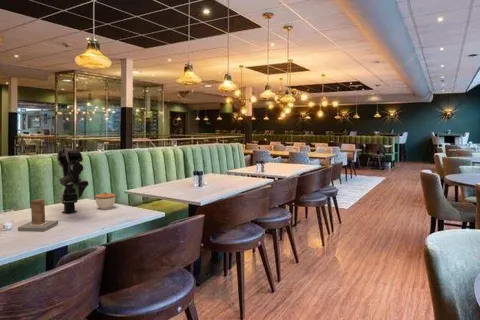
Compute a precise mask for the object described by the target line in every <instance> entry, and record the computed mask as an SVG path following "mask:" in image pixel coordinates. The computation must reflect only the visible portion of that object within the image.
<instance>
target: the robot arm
mask: <svg viewBox="0 0 480 320" xmlns="http://www.w3.org/2000/svg"><path fill="white" fill-rule="evenodd" d="M83 160H84V158H83V155H82V152H81V151H80V150H78V149H72V148H71V147H70V146H69V147H68V146H64V147H62V148H61V149H60V150H59V151H58V152H57V155H56V161H57V162H58V165H59V166H60V168H61V171H62V177H61V178H59V179H58V180H59V183H60V185H62V186H63V187H64V190H63V191H62V194H61V198H60V199H61V200H60V203H61V204H62V205H63V211H61V213H62V214H63V213H64V214H67V215H69V214H74V213H77V212H78V210H76V205H75V204H77V203H78V198H79V199H80V198H82V195H83V193H84V192H85V189H86V188H87V187H88V186H89V181H88V180H82V179H81V178H80V175H82V172H83V171H84V166H83V164H82V163H83ZM74 185H75V188H74ZM76 189H77V191H76Z"/></svg>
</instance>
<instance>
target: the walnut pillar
mask: <svg viewBox="0 0 480 320" xmlns="http://www.w3.org/2000/svg"><path fill="white" fill-rule="evenodd" d="M30 207H31V208H30V210H31V221H32V225H41V224H43V223H45V220H46V212H45V211H46V210H45V208H46V207H45V199H43V198H42V199H40V198H39V199H34V200H31V201H30Z"/></svg>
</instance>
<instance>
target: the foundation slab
mask: <svg viewBox="0 0 480 320" xmlns="http://www.w3.org/2000/svg"><path fill="white" fill-rule="evenodd" d="M57 225H59V220H46V219H45V223H43V224H41V225H32V220H30V221H28V222H26V223H24V224H22V225H20V226H18V227H17V232H39V233H41V232H46V231H48V230H50V229H52V228H54V227H56V226H57Z"/></svg>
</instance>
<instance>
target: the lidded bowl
mask: <svg viewBox="0 0 480 320" xmlns="http://www.w3.org/2000/svg"><path fill="white" fill-rule="evenodd" d="M94 197H95V203H96V207H98V208H99V209H100V210H110V209H112V207H114V205H115V203H116V202H115V201H116V194H115V193H107V192H106V191H104V193H98V194H96V195H95V196H94Z"/></svg>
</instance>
